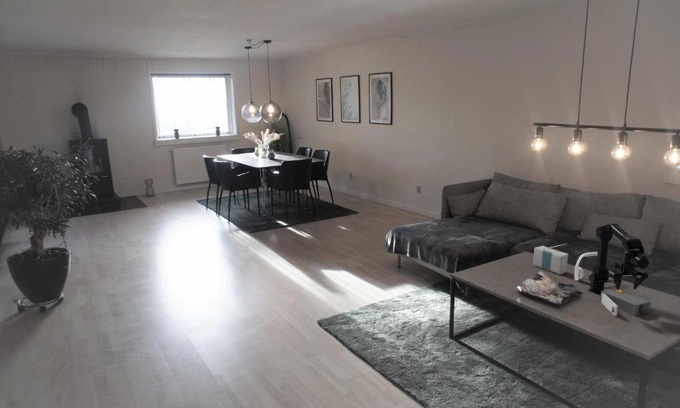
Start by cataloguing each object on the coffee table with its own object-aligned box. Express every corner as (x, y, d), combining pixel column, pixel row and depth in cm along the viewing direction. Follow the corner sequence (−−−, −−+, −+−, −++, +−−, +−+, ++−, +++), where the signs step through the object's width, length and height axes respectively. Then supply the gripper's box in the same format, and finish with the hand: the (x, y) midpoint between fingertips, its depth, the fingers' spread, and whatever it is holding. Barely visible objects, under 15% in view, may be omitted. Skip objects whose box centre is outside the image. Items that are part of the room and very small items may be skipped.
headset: (578, 283, 284) (581, 255, 280) (570, 278, 291) (573, 251, 287) (606, 280, 288) (610, 252, 284) (598, 275, 294) (601, 249, 290)
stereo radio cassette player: (532, 265, 314) (534, 237, 309) (540, 263, 318) (543, 235, 313) (559, 275, 296) (562, 246, 291) (567, 273, 300) (570, 243, 295)
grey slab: (599, 301, 258) (601, 289, 257) (614, 297, 263) (616, 286, 261) (636, 317, 239) (638, 304, 238) (652, 312, 244) (653, 300, 242)
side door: (598, 301, 257) (599, 292, 256) (602, 301, 257) (603, 292, 255) (612, 315, 240) (614, 306, 239) (616, 316, 240) (618, 306, 239)
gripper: (636, 255, 248) (632, 283, 251) (602, 257, 247) (599, 284, 250) (651, 263, 237) (647, 291, 240) (616, 264, 236) (612, 292, 239)
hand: (626, 289), depth 243 cm, fingers open, 9 cm apart
